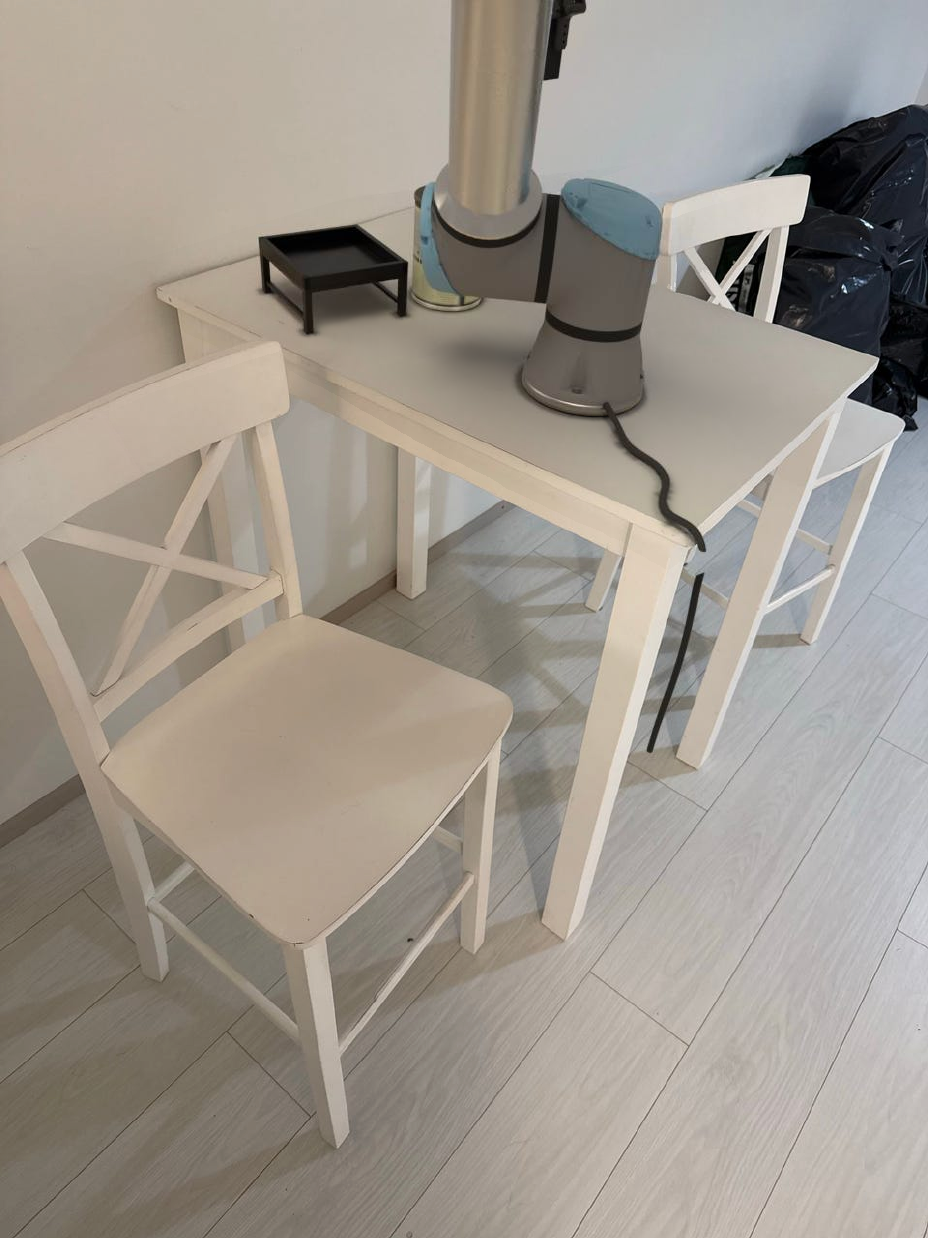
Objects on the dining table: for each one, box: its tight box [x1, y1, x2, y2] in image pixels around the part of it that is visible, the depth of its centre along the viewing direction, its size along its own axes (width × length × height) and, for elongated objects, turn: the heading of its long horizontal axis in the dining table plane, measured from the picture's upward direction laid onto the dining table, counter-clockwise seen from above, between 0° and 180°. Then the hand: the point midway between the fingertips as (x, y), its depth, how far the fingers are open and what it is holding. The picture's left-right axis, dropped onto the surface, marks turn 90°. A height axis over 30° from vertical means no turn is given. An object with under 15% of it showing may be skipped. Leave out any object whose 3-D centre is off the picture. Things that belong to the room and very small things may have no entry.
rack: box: [258, 223, 409, 335], centre depth 125 cm, size 15×15×8 cm
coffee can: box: [410, 184, 482, 312], centre depth 127 cm, size 10×10×14 cm
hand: (510, 66), depth 116 cm, fingers open, 13 cm apart
